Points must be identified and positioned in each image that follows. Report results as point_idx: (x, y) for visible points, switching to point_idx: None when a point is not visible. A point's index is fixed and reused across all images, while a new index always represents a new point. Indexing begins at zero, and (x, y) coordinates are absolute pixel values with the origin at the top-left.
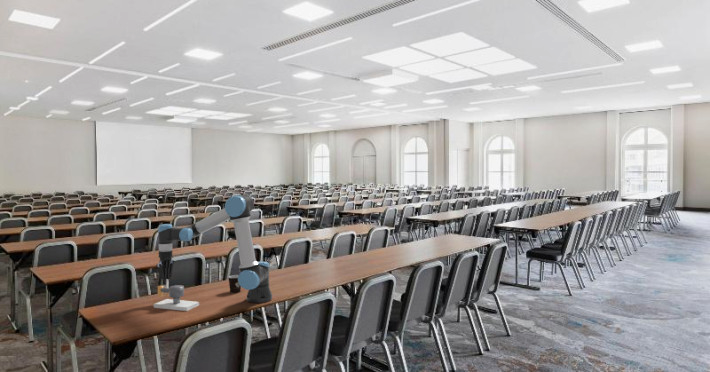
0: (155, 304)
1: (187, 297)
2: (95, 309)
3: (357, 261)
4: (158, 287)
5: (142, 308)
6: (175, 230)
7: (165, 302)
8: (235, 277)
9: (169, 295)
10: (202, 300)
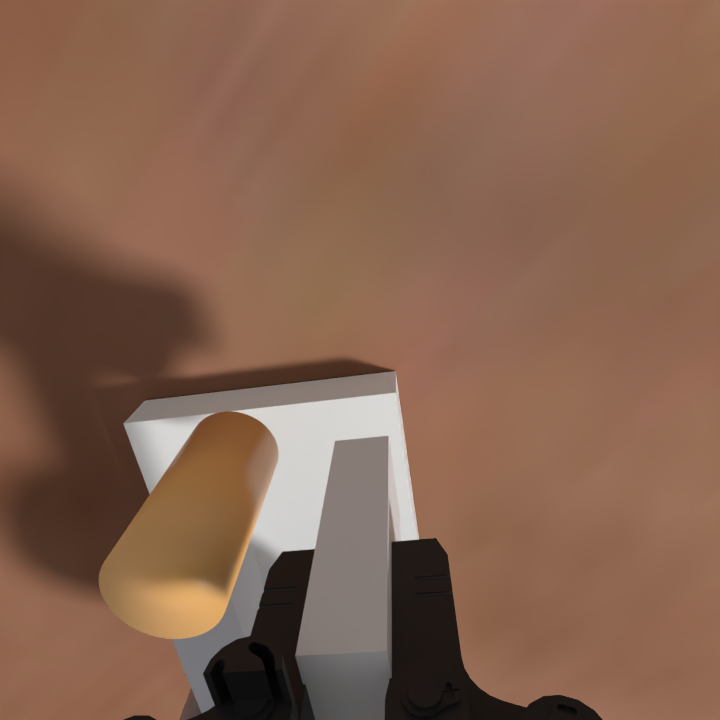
0: (133, 446)
1: (690, 448)
2: None
3: None
4: (109, 581)
5: (37, 296)
6: None
7: None
8: None
9: (188, 696)
10: (610, 660)
